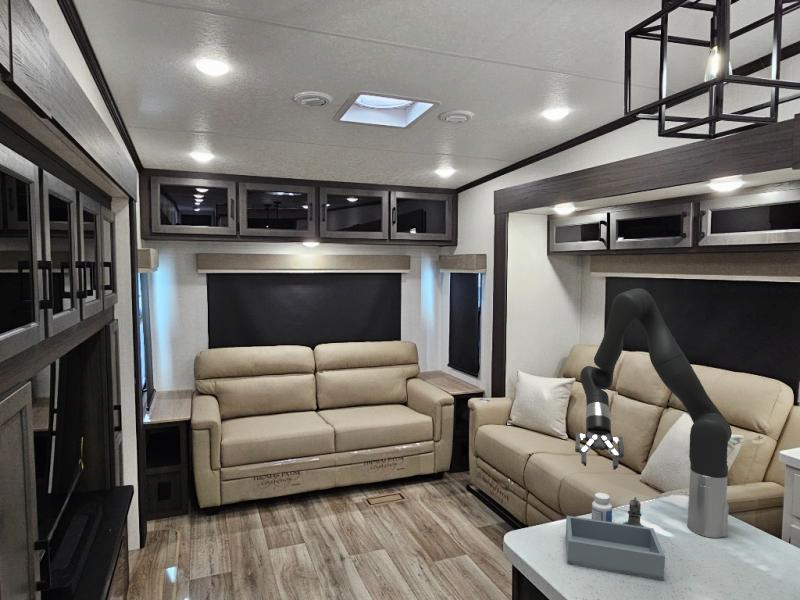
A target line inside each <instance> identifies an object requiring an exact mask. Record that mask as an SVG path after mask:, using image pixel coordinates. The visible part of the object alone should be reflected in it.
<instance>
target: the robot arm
mask: <svg viewBox="0 0 800 600" xmlns="http://www.w3.org/2000/svg"><path fill="white" fill-rule="evenodd" d="M636 320H637V321H638V322H639V323H640V325H641V327H642V328H643V330H644V332H645V335H646V338H647V347H648V355H649V359H650V363H651V365H652V367H653V368H654V371H655V372H656V374H657V375H658V377H659V378H660V380H661V381H662V383H663V384H664V385H665V387H666V388H667V389H668V390H669V391H671V393H672V394H673V395H674V396H675V397H676V398H677V399H678V400H679V401H680V402H681V404H682V405H683V406H684V408H685V409H686V411H687V413H688V415H689V417H690V419H691V421H692V423H693V424H692V425H691V427H690V432H689V447H688V448H689V450H688V451H689V453H688V455H689V456H688V457H689V462H690V463H689V464H690V468H689V469H690V470H689V484H688V485H689V487H688V505H687V507H688V508H687V522H686V523H687V524H686V525H687V529H689V530H690V531H692V532H694V533H695V534H698V535H700V536H703V537H708V538H716V539H717V538H727V537H728V524H729V506H730V505H729V503H728V502H727V494H728V475H729V467H728V466H729V465H728V445H729V441H730V440H731V438H732V427H731V425H730V423H729V422H728V420H727V418H726V417H725V416H724V415H723V414H722V413H721V411H720V410H719V408H718V406H716V405H715V403H714V402H713V401H712V399H711V398H710V396H709V395H708V393H707V391H706V390H705V388H704V386H703V384H702V382H701V380H700V379H699V377H698V375H697V373H696V372H695V370H694V368H693V366H692V365H691V363H690V361H689V360H688V358H687V357H686V355H685V353H684V352H683V350H682V349H681V348H680V346H679V344H678V343H677V341H676V339H675V337H674V336H673V334H672V333H671V331H670V328H668V325H667V324H666V322H665V321H664V318H663V315H662V314H661V312H660V309H659V308H658V306H657V303H656V301H655V299H654V298H653V296H652V295H651V294H650V293H649V291H647V290H645V289H643V288H638V287H637V288H632V289H630V290H627V291H623V292H621V293H619V294H617V295H616V296H615V298H614V299H613V302H612V305H611V308H610V311H609V317H608V320H607V323H606V328H605V331H604V334H603V337H602V340H601V343H600V345H599V347H598V348H597V350H596V353H595V355H594V357H593V362H594V364H595V366H596V367H595V366H591V365H586V366H584V367H582V369H581V372H580V374H579V375H580V377H579V378H580V383H581V386H582V389H583V391H584V394H585V397H586V398H585V399H586V401H585V402H586V403H585V404H586V406H585V407H586V409H585V432H586V433H585V434H583V433H581V432H580V431H576V433H575V445H574V446H575V447H574V451H575V453H578V454H580V457H581V458H580V461H581V464H582V465H583V467H587V453H588V452H589V451H590V450H591V449H593V450H597V451H598V450H600V451H606V452H607V453H608V454H610V456H611V457H612V470H614V471H616V470H617V469H618V468H619V458H624V456H625V447H624V440H623V437H622V436H618V437H613V435H612V426H611V425H612V423H611V411H610V404H609V403H610V401H609V394H608V393H607V392H606V391H605V390H608V389H610V388H611V387H612V385H613V382H614V373H615V367H616V365H617V363H618V361H619V359H620V357H621V354H622V352H623V350H624V336H625V332H626V330H627V329H628V328H629V326H630V325H631V323H633V321H636ZM583 440H585V441H586V443H585V445H584V446H583V447H581V444H580V443H581V442H582V441H583ZM613 442H614V444H615V445H616V446H617V449H618V451H617V450H616V448H615V447H614V445H613V444H612V443H613Z"/></svg>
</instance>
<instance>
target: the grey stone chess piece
mask: <svg viewBox="0 0 800 600" xmlns="http://www.w3.org/2000/svg"><path fill="white" fill-rule="evenodd" d="M641 507H642V506H641V502H640V501H639V500H637V497H634V498H633V499H631V500H629V505H628V508H629V509H628V511H627V514H628V520H627V521H625V522H622V524H627V525H634V526H641V527H645V526H644V525H642V523H641V517H642V513H641Z"/></svg>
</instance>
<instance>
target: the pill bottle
mask: <svg viewBox="0 0 800 600" xmlns="http://www.w3.org/2000/svg"><path fill="white" fill-rule="evenodd" d="M610 499H611V498H610V496H609V494H607V493H604V492H595V494H594V500H593V501H592V503H591V519H593V520H600V521H607V522H613V506H612V503H610V502H611V501H610Z"/></svg>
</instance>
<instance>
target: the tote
mask: <svg viewBox="0 0 800 600" xmlns="http://www.w3.org/2000/svg"><path fill="white" fill-rule="evenodd" d="M565 523H566V524H565V547H566V561H567V562H566V563H567V565H572V566H577V567H584V568H589V569H596V570H599V571H600V570H601V571H607V572H613V573H618V574H624V575H629V576H630V575H631V576H634V577H635V576H636V577H642V578H648V579H653V580H659V581H664V580H665V568H666V567H665V563H666V555H665V553H664V549H663V548H662V546H661V543H660V541H659V539H658V536H657V533H656V531H655V528H652V527H648V526H647V527H646V526H644V527H641V526H634V525H627V524H623V523H620V522H613V521H612V522H607V521H600V520H593V519H592V518H585V517H579V516H571V515H566V522H565Z"/></svg>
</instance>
